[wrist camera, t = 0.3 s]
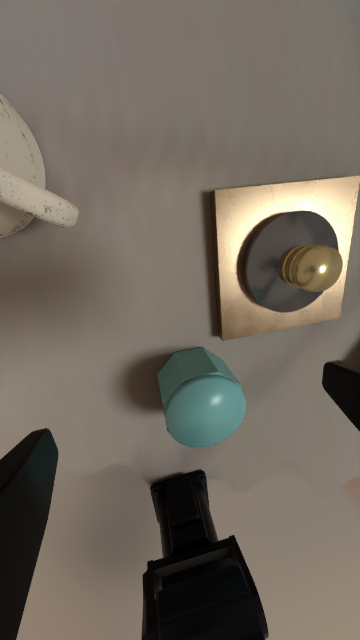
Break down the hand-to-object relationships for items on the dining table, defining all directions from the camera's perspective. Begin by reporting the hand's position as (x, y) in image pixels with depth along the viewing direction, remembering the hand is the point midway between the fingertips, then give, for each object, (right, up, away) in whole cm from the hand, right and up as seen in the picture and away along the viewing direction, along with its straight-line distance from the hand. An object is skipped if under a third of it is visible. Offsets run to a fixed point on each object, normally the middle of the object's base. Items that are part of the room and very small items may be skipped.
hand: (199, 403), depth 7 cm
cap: (0, -3, +15) cm, 16 cm away
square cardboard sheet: (+8, +8, +13) cm, 17 cm away
